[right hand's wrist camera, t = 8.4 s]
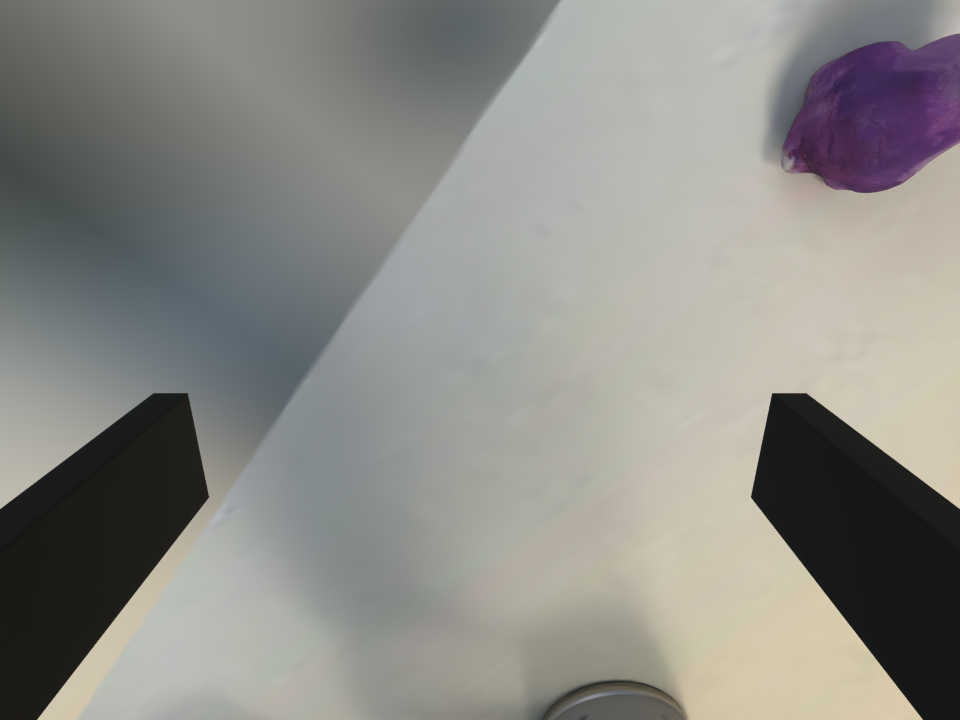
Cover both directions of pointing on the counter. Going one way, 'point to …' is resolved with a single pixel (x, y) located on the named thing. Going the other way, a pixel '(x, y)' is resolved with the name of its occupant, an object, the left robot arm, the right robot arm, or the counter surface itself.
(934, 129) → the figurine
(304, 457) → the counter surface
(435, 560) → the counter surface
